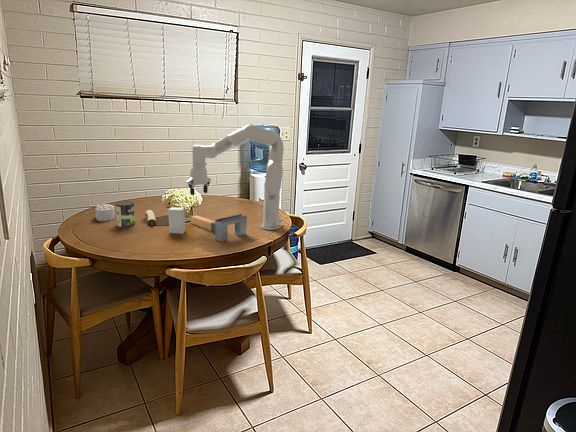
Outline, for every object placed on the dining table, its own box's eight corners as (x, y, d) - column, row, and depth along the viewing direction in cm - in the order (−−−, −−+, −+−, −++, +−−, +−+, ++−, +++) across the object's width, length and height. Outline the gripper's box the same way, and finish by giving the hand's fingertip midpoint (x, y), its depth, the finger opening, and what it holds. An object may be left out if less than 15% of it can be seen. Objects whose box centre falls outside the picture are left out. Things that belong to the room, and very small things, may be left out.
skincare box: (185, 231, 234) (185, 207, 230) (183, 234, 228) (182, 209, 224) (171, 230, 234) (170, 206, 230) (168, 234, 228) (167, 209, 224)
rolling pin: (157, 228, 237) (156, 220, 236) (147, 229, 235) (146, 221, 234) (154, 214, 266) (154, 207, 265) (145, 215, 264) (145, 208, 263)
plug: (197, 223, 251) (197, 214, 249) (224, 233, 235) (224, 223, 233) (190, 225, 247) (190, 215, 246) (217, 234, 231) (217, 225, 229)
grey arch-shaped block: (240, 233, 236) (240, 213, 233) (246, 235, 233) (246, 215, 230) (215, 239, 222) (215, 219, 219) (221, 242, 219) (221, 221, 216)
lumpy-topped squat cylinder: (116, 216, 258) (115, 203, 256) (111, 221, 246) (110, 208, 243) (99, 216, 256) (98, 203, 254) (93, 221, 244) (92, 208, 242)
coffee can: (138, 224, 243) (137, 202, 239) (129, 229, 233) (127, 205, 229) (123, 222, 245) (122, 200, 241) (113, 227, 235) (111, 204, 231)
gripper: (206, 163, 244) (206, 191, 248) (183, 165, 231) (183, 194, 235) (214, 165, 239) (214, 193, 244) (190, 167, 226) (190, 196, 231)
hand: (199, 193), depth 239 cm, fingers open, 9 cm apart
